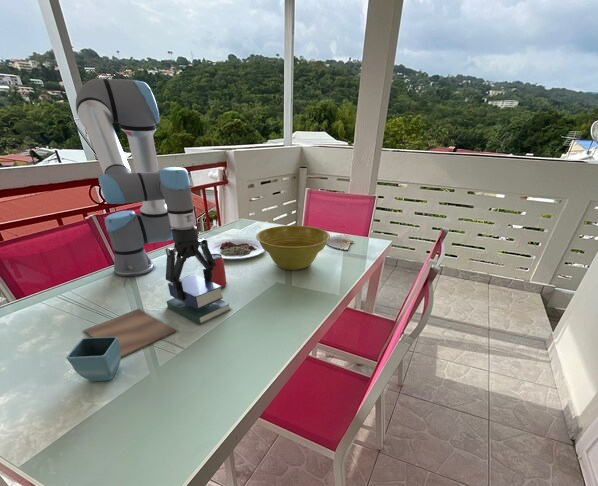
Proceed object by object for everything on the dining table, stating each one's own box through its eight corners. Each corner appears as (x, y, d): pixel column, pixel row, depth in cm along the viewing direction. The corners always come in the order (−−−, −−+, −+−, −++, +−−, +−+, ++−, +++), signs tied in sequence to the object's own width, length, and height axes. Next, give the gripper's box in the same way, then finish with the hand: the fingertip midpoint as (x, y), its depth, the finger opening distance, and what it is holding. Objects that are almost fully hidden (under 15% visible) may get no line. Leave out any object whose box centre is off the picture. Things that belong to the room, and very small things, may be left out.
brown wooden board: (84, 331, 102) (83, 329, 102) (138, 310, 114) (138, 308, 114) (119, 358, 91) (119, 356, 91) (176, 331, 103) (175, 330, 102)
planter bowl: (244, 271, 143) (242, 240, 136) (276, 249, 168) (275, 221, 160) (314, 283, 134) (315, 251, 126) (337, 258, 158) (339, 229, 150)
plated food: (249, 266, 149) (248, 258, 147) (192, 257, 157) (191, 250, 155) (275, 246, 172) (275, 239, 170) (225, 239, 180) (224, 233, 178)
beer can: (223, 289, 128) (219, 259, 121) (207, 288, 129) (202, 258, 122) (229, 283, 133) (225, 253, 126) (214, 281, 134) (209, 252, 127)
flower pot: (94, 365, 89) (82, 337, 83) (128, 363, 89) (118, 336, 84) (79, 387, 81) (64, 357, 76) (116, 385, 82) (104, 356, 77)
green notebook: (167, 307, 116) (166, 301, 114) (198, 295, 124) (197, 289, 122) (199, 324, 107) (198, 317, 105) (230, 309, 115) (229, 303, 113)
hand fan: (352, 235, 189) (325, 234, 189) (352, 234, 188) (325, 233, 189) (355, 250, 167) (325, 249, 168) (355, 249, 167) (325, 248, 167)
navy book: (170, 295, 113) (167, 283, 111) (195, 285, 120) (193, 274, 117) (197, 309, 106) (195, 296, 103) (222, 298, 113) (221, 286, 110)
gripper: (156, 237, 90) (172, 309, 103) (221, 221, 105) (229, 285, 118) (141, 232, 94) (159, 301, 107) (206, 216, 108) (215, 279, 121)
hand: (195, 293), depth 112 cm, fingers closed on navy book, 10 cm apart
